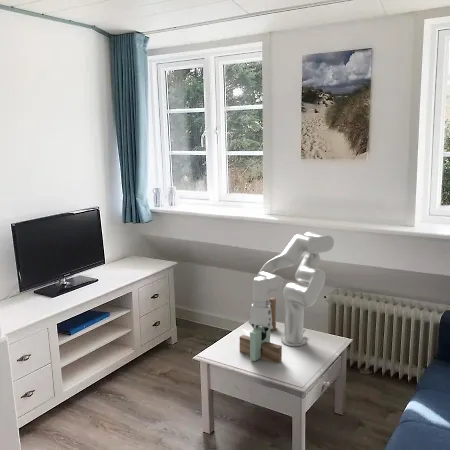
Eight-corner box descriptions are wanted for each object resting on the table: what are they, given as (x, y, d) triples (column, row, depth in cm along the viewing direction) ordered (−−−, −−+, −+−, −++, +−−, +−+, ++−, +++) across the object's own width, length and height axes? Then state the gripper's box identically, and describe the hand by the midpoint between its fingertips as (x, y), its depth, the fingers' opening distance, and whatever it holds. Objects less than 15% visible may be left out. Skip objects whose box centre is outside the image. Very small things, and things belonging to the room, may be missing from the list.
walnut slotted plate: (242, 349, 240) (242, 334, 238) (281, 361, 227) (281, 345, 226) (239, 351, 237) (239, 336, 236) (278, 363, 225) (278, 348, 223)
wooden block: (256, 326, 267) (256, 296, 263) (275, 327, 265) (276, 297, 261) (256, 329, 263) (256, 298, 260) (275, 330, 262) (276, 299, 258)
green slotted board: (264, 348, 239) (264, 322, 236) (269, 349, 237) (270, 323, 234) (249, 359, 227) (250, 332, 224) (255, 361, 226) (255, 333, 223)
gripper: (279, 303, 225) (279, 339, 229) (250, 296, 234) (250, 331, 238) (271, 308, 219) (271, 345, 223) (242, 301, 228) (242, 337, 232)
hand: (260, 338), depth 230 cm, fingers closed on green slotted board, 3 cm apart
